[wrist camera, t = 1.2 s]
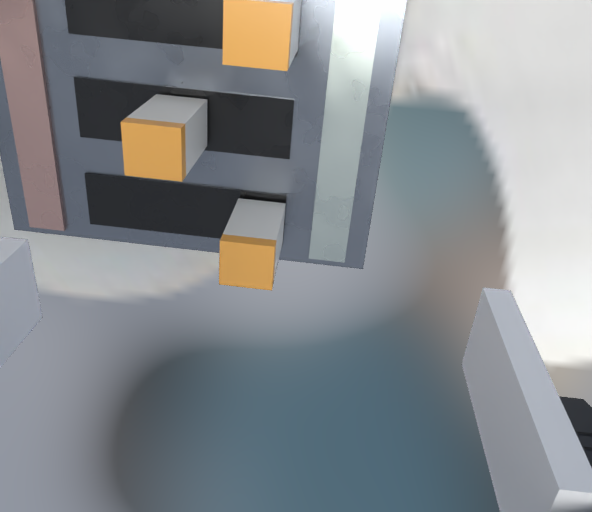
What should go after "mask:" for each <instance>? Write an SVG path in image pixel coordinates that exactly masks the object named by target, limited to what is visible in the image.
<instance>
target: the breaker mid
mask: <svg viewBox="0 0 592 512" xmlns="http://www.w3.org/2000/svg"><path fill="white" fill-rule="evenodd" d="M121 133H122V147H123V160H124V173H125V176H135V177H144V178H153V179H162V180H171V181H180V182H182V181H183V180H184V178H185V177H186V175H187V174H188V173H189V171H190V170H191V168H192V167H193V166H194V164H195V163H196V161H197V160H198V158H199V157H200V156H201V154H202V153H203V151H204V150H205V149H206V147H207V99H199V98H189V97H179V96H170V95H160V94H156V95H155V96H153V97H152V98H151V99H149V100H148V101H147V102H146V103H144V104H143V105H142V106H140V107H139V108H138V109H137V110H135V111H134V112H133V113H131V114H130V115H129V116H128V117H126V118H125V119H124V120H122V121H121Z"/></svg>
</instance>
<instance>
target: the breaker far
mask: <svg viewBox="0 0 592 512" xmlns="http://www.w3.org/2000/svg"><path fill="white" fill-rule="evenodd" d="M285 205H286V203H278V202H268V201H259V200H250V199H241V198H238V200H237V203H236V205H235V207H234V210H233V212H232V214H231V216H230V219H229V221H228V223H227V225H226V228H225V230H224V232H223V235H222V237H221V239H220V258H219V284H220V285H229V286H237V287H247V288H255V289H264V290H272V287H273V282H274V278H275V274H276V269H277V265H278V260H279V256H280V252H281V247H282V243H283V231H284V218H285Z"/></svg>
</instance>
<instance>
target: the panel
mask: <svg viewBox="0 0 592 512" xmlns="http://www.w3.org/2000/svg"><path fill="white" fill-rule="evenodd" d="M406 3H407V0H302V2H301V15H300V27H299V40H298V51H297V53H296V55H295V57H294V59H293V61H292V63H291V65H290V67H289V69H288V71H281V70H271V69H261V68H251V67H241V66H231V65H222V62H223V0H0V155H1V161H2V166H3V171H4V177H5V182H6V187H7V192H8V198H9V203H10V208H11V214H12V219H13V224H14V229H15V230H23V231H32V232H40V233H49V234H58V235H67V236H76V237H85V238H93V239H102V240H111V241H120V242H129V243H138V244H146V245H155V246H164V247H173V248H182V249H191V250H200V251H208V252H217V253H220V239H221V237H222V235H223V232H224V230H225V228H226V225H227V223H228V221H229V219H230V216H231V214H232V212H233V210H234V207H235V205H236V203H237V200H238V198H241V199H250V200H259V201H268V202H278V203H286V205H285V218H284V231H283V243H282V247H281V252H280V256H279V260H288V261H297V262H306V263H314V264H324V265H332V266H341V267H350V268H359V269H363V265H364V258H365V253H366V247H367V240H368V235H369V229H370V223H371V216H372V210H373V204H374V198H375V192H376V186H377V180H378V174H379V168H380V162H381V155H382V149H383V143H384V137H385V131H386V124H387V119H388V113H389V107H390V101H391V94H392V88H393V82H394V76H395V70H396V64H397V58H398V52H399V46H400V40H401V33H402V27H403V21H404V15H405V9H406ZM156 94H160V95H170V96H179V97H189V98H199V99H207V147H206V149H205V150H204V151H203V153H202V154H201V156H200V157H199V158H198V160H197V161H196V163H195V164H194V166H193V167H192V168H191V170H190V171H189V173H188V174H187V175H186V177H185V178H184V180H183V181H182V182H180V181H171V180H162V179H153V178H144V177H135V176H125V173H124V160H123V147H122V133H121V121H122V120H124V119H125V118H126V117H128V116H129V115H130V114H131V113H133V112H134V111H135V110H137V109H138V108H139V107H140V106H142V105H143V104H144V103H146V102H147V101H148V100H149V99H151V98H152V97H153V96H155V95H156Z"/></svg>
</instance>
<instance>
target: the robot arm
mask: <svg viewBox="0 0 592 512" xmlns="http://www.w3.org/2000/svg"><path fill="white" fill-rule="evenodd" d="M41 319H42V311H41V306H40V300H39V295H38V290H37V285H36V279H35V274H34V269H33V263H32V258H31V253H30V248H29V242H28V240H26V239H17V238H7V237H2V238H1V239H0V368H1V367H2V365H3V364H4V363H5V362H6V361H7V359H8V358H9V357H10V356H11V355H12V353H13V352H14V351H15V350H16V349H17V347H18V346H19V345H20V344H21V343H22V341H23V340H24V339H25V338H26V337H27V335H28V334H29V333H30V332H31V331H32V329H33V328H34V327H35V326H36V325H37V323H38V322H39V321H40V320H41ZM462 366H463V370H464V374H465V378H466V382H467V386H468V390H469V394H470V397H471V401H472V405H473V409H474V413H475V417H476V421H477V424H478V428H479V432H480V436H481V440H482V443H483V447H484V451H485V455H486V459H487V463H488V467H489V471H490V474H491V478H492V482H493V486H494V489H495V494H496V497H497V502H498V505H499V509H500V512H592V407H590V405H588V403H587V402H586V401H584V400H583V399H577V398H568V397H559V395H558V393H557V391H556V389H555V386H554V384H553V382H552V380H551V378H550V376H549V373H548V371H547V369H546V367H545V365H544V362H543V360H542V358H541V356H540V354H539V351H538V349H537V347H536V345H535V343H534V340H533V338H532V336H531V334H530V332H529V329H528V327H527V325H526V323H525V321H524V319H523V316H522V314H521V312H520V310H519V308H518V305H517V303H516V301H515V299H514V297H513V294H512V292H511V290H501V289H491V288H483V290H482V293H481V297H480V300H479V304H478V308H477V311H476V315H475V319H474V322H473V325H472V329H471V333H470V336H469V340H468V343H467V347H466V351H465V354H464V358H463V361H462Z"/></svg>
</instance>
